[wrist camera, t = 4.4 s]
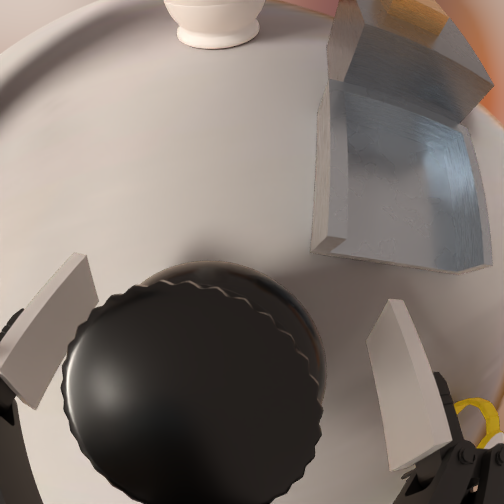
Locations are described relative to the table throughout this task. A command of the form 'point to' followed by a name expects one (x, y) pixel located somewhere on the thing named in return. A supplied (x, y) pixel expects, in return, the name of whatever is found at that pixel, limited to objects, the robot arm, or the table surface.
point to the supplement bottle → (198, 387)
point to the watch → (491, 419)
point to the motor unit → (400, 141)
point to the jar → (215, 21)
